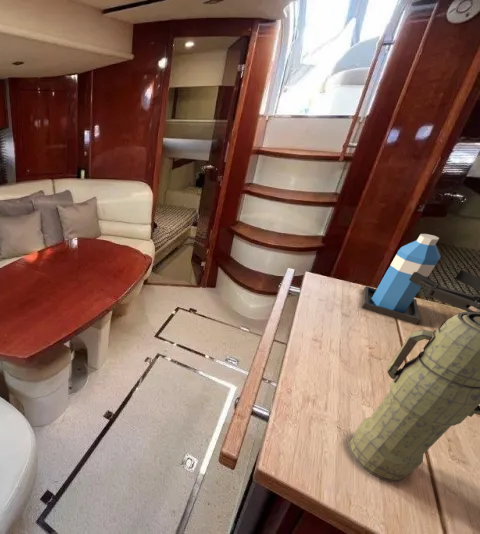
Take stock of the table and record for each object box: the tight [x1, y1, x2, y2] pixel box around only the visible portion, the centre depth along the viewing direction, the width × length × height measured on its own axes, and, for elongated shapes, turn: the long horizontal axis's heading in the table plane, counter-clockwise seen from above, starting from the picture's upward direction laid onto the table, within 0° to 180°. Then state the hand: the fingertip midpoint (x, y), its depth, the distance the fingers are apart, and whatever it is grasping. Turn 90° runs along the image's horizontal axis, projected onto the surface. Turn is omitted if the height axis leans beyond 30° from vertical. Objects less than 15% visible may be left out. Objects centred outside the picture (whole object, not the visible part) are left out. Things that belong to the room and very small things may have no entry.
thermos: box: [347, 311, 480, 483], centre depth 52 cm, size 9×12×35 cm
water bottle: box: [370, 233, 442, 313], centre depth 95 cm, size 9×9×25 cm
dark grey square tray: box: [361, 285, 421, 325], centre depth 101 cm, size 13×13×2 cm
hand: (435, 275), depth 88 cm, fingers open, 13 cm apart
